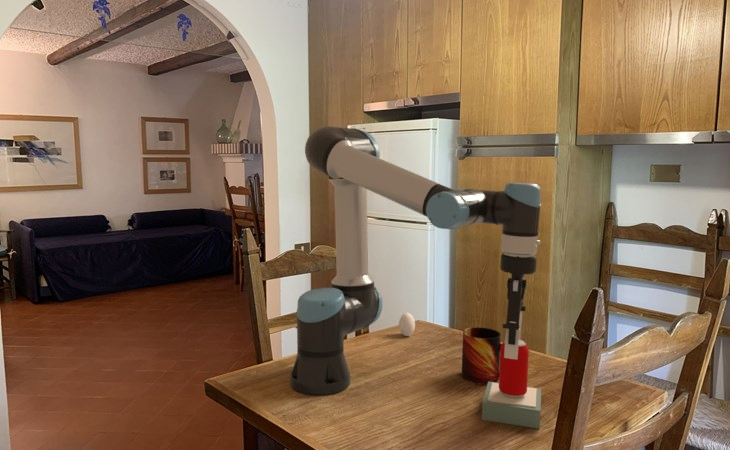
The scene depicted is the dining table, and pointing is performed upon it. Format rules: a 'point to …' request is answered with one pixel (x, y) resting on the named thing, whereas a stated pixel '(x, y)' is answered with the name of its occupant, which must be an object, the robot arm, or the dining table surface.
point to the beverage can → (514, 372)
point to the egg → (406, 324)
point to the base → (512, 407)
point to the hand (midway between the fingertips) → (512, 347)
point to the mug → (481, 355)
